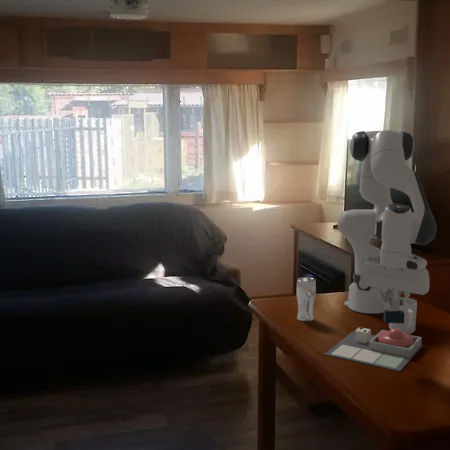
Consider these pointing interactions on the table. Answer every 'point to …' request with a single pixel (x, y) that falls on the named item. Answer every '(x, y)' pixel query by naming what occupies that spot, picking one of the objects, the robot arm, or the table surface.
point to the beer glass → (305, 298)
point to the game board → (374, 350)
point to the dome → (395, 338)
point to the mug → (407, 317)
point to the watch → (393, 307)
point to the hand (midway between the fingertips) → (392, 303)
